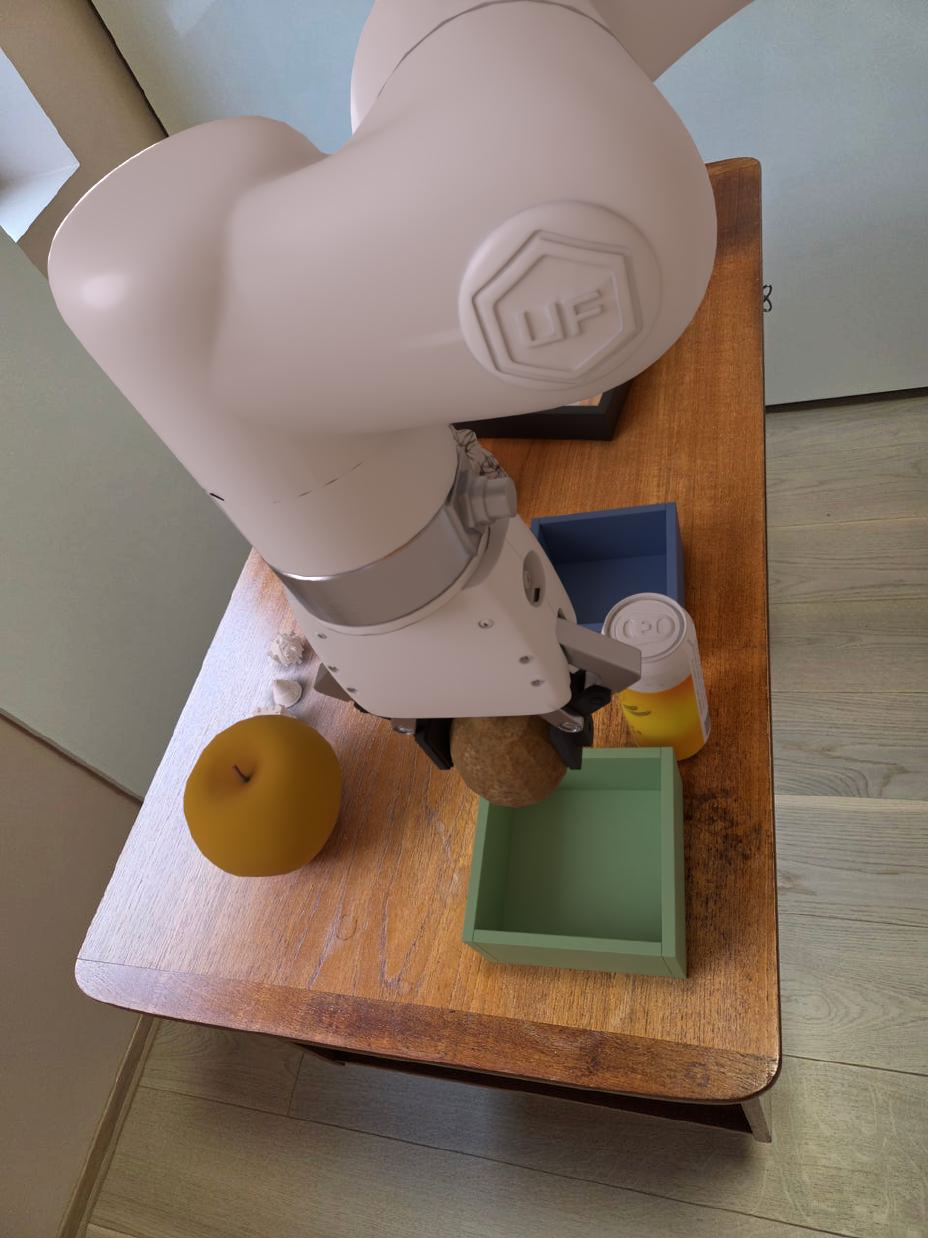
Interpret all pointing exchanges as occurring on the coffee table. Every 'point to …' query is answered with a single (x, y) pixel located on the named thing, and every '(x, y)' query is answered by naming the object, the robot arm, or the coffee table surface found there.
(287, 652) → the seashells
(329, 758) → the apple
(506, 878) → the green bin
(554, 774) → the fruit
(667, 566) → the blue bin
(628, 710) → the beer can
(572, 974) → the coffee table surface
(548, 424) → the framed painting
